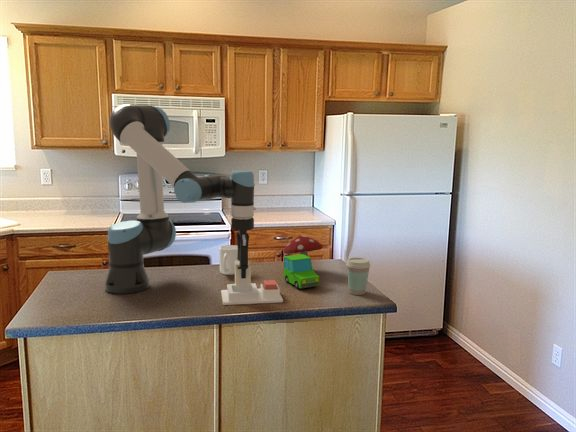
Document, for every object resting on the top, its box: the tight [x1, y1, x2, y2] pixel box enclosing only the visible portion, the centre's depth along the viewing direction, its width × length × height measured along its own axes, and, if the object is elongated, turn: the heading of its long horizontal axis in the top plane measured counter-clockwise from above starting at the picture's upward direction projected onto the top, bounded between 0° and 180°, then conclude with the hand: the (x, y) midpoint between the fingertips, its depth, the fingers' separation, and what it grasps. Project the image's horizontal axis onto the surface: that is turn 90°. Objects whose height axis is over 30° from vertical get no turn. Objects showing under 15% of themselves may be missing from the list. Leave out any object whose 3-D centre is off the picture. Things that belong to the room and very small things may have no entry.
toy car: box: [283, 253, 320, 290], centre depth 183 cm, size 10×13×10 cm
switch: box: [262, 279, 278, 290], centre depth 170 cm, size 4×5×2 cm
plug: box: [234, 259, 252, 288], centre depth 167 cm, size 5×5×10 cm
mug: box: [219, 244, 238, 276], centre depth 195 cm, size 12×8×10 cm
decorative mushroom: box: [283, 234, 324, 257], centre depth 199 cm, size 16×16×15 cm
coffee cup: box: [345, 257, 371, 296], centre depth 175 cm, size 9×9×12 cm
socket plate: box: [220, 282, 284, 306], centre depth 169 cm, size 20×13×3 cm, turn 100°
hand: (242, 284), depth 168 cm, fingers closed on plug, 5 cm apart
